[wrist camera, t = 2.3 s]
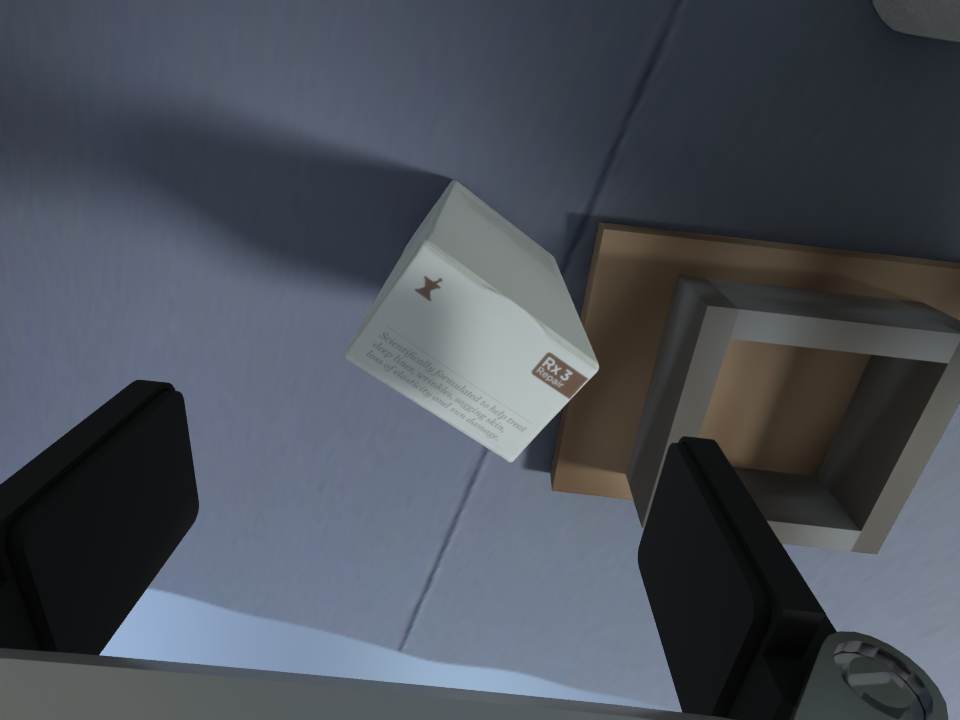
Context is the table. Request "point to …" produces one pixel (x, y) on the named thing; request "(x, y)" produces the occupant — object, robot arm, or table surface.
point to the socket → (765, 375)
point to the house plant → (922, 17)
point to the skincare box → (477, 327)
